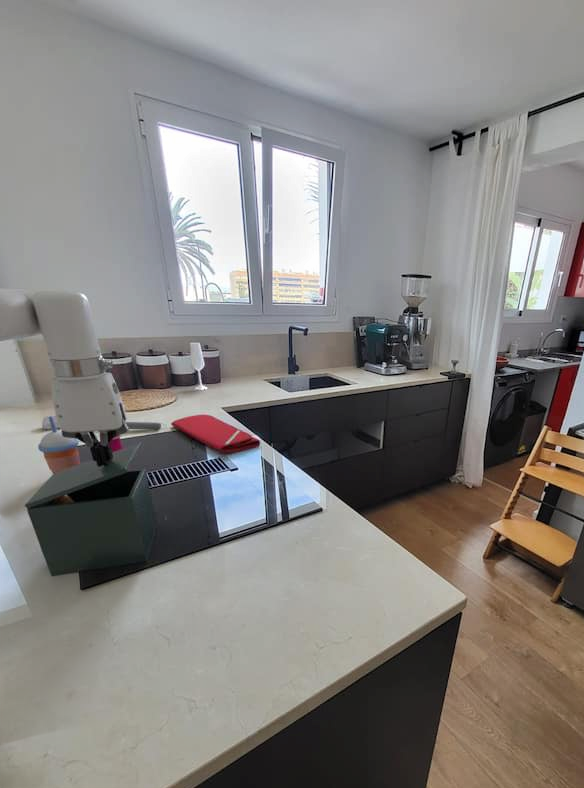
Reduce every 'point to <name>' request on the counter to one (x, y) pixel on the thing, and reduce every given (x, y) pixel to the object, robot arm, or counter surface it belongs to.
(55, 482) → the bin lid
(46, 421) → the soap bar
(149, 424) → the kitchen whisk
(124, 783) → the counter surface
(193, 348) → the champagne flute
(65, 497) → the orange cylinder
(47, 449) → the cup with straw
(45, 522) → the bin
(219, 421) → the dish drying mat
